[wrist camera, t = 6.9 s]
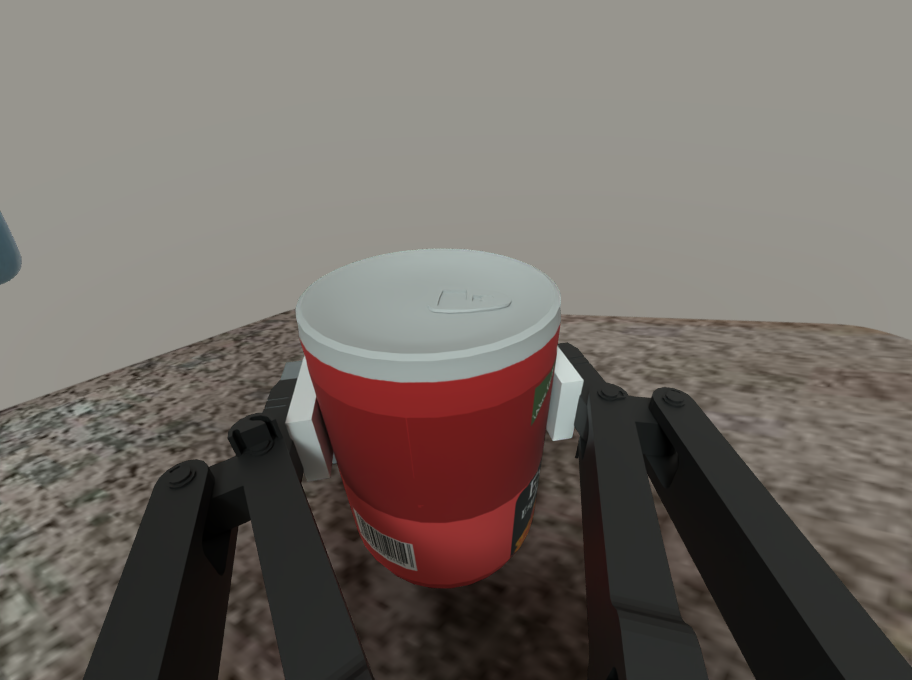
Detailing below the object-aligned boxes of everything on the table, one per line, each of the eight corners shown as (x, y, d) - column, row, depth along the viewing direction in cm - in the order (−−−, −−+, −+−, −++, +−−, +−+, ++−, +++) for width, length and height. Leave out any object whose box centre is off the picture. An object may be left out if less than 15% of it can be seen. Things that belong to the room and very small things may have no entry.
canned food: (559, 577, 15) (615, 339, 9) (350, 616, 14) (254, 379, 8) (507, 433, 21) (519, 239, 15) (362, 452, 20) (315, 255, 14)
